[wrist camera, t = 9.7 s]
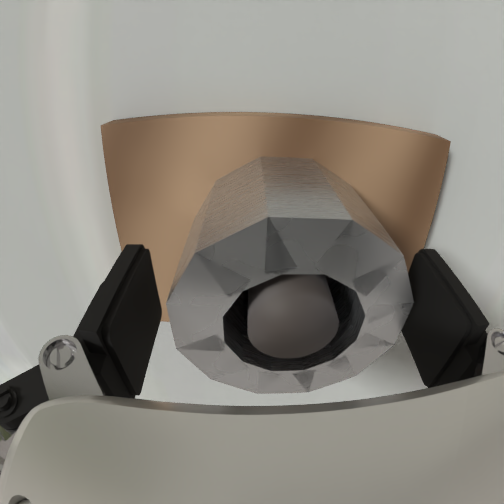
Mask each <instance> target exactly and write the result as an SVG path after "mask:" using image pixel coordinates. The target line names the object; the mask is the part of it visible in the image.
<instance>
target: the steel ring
mask: <svg viewBox="0 0 504 504" xmlns="http://www.w3.org/2000/svg"><path fill="white" fill-rule="evenodd" d="M281 274H325V276H326V280H327V283H328V286H329V289H330V292H331V296H332V299H333V302H334V305H335V309H336V312H337V315H338V320H339V326H338V330H337V333H336V335H335V336H334V338H333V339H332V340H331V342H330V343H329V344H327V345H326V346H325V347H324V348H322V349H320V350H319V351H317V352H315V353H312V354H310V355H307V356H303V357H298V358H277V357H273V356H269V355H267V354H264V353H262V352H260V351H259V350H258V349H256V348H255V347H254V346H253V345H252V343H251V342H250V340H249V337H248V331H247V329H248V289H249V288H251V287H254V286H256V285H258V284H261V283H263V282H265V281H268V280H270V279H272V278H274V277H277V276H279V275H281ZM413 304H414V301H413V295H412V290H411V286H410V281H409V276H408V272H407V267H406V263H405V259H404V255H403V254H402V253H401V251H400V250H399V248H398V247H397V245H396V244H395V243H394V241H393V240H392V238H391V237H390V236H389V234H388V233H387V232H386V230H385V229H384V227H383V226H382V225H381V223H380V222H379V221H378V219H377V218H376V217H375V215H374V214H373V213H372V212H371V210H370V209H369V208H368V206H367V205H366V204H365V203H364V201H363V200H362V199H361V197H360V196H359V195H358V194H357V192H356V191H355V190H354V189H353V188H352V186H351V185H350V184H348V183H347V182H346V181H344V180H343V179H341V178H340V177H338V176H337V175H336V174H334V173H333V172H331V171H330V170H328V169H327V168H325V167H324V166H322V165H321V164H319V163H318V162H316V161H315V160H313V159H310V158H292V157H266V156H261V157H259V158H257V159H255V160H253V161H251V162H249V163H247V164H245V165H243V166H241V167H240V168H238V169H236V170H234V171H232V172H230V173H228V174H227V175H225V176H223V177H221V178H219V179H217V180H216V182H215V183H214V185H213V187H212V189H211V190H210V192H209V194H208V195H207V197H206V199H205V201H204V202H203V204H202V206H201V208H200V210H199V211H198V213H197V215H196V217H195V218H194V221H193V224H192V227H191V229H190V232H189V235H188V238H187V241H186V244H185V247H184V250H183V253H182V255H181V258H180V261H179V264H178V267H177V271H176V274H175V277H174V280H173V283H172V286H171V289H170V292H169V296H168V299H167V302H166V306H167V311H168V315H169V320H170V324H171V328H172V333H173V337H174V341H175V345H176V349H177V350H178V351H180V352H181V353H182V354H183V355H184V356H185V357H186V358H187V359H188V360H189V361H191V362H192V363H193V364H194V365H195V366H196V367H197V368H199V369H200V370H201V371H202V372H203V373H204V374H205V375H207V376H208V377H209V378H210V379H212V380H215V381H218V382H221V383H224V384H228V385H231V386H234V387H237V388H240V389H244V390H247V391H251V392H254V393H257V394H258V393H301V392H310V391H313V390H316V389H319V388H322V387H325V386H328V385H331V384H334V383H337V382H340V381H343V380H345V379H348V378H351V377H353V376H356V375H357V374H359V373H360V372H361V371H363V370H364V369H365V368H366V367H368V366H369V365H370V364H371V363H373V362H374V361H375V360H376V359H378V358H379V357H380V356H381V355H383V354H384V353H385V352H386V351H387V350H389V349H390V348H391V347H392V346H393V345H394V344H395V342H396V340H397V338H398V336H399V334H400V332H401V330H402V328H403V326H404V324H405V321H406V319H407V317H408V315H409V313H410V310H411V308H412V306H413Z"/></svg>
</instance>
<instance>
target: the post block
mask: <svg viewBox="0 0 504 504" xmlns="http://www.w3.org/2000/svg"><path fill="white" fill-rule="evenodd" d="M101 133H102V142H103V150H104V158H105V165H106V172H107V179H108V185H109V191H110V197H111V202H112V208H113V213H114V218H115V223H116V228H117V232H118V237H119V242H120V246H121V250H122V251H123V249H124V247H125V246H126V245H127V244H143V245H144V247H145V249H149V251H150V254H151V260H152V265H153V270H154V275H155V280H156V285H157V289H158V294H159V298H160V303H161V307H162V317H161V321H166V322H170V320H169V315H168V311H167V306H166V302H167V299H168V296H169V292H170V289H171V286H172V283H173V280H174V277H175V274H176V271H177V267H178V264H179V261H180V258H181V255H182V253H183V250H184V247H185V244H186V241H187V238H188V235H189V232H190V229H191V227H192V224H193V221H194V218H195V217H196V215H197V213H198V211H199V210H200V208H201V206H202V204H203V202H204V201H205V199H206V197H207V195H208V194H209V192H210V190H211V189H212V187H213V185H214V183H215V182H216V180H217V179H219V178H221V177H223V176H225V175H227V174H228V173H230V172H232V171H234V170H236V169H238V168H240V167H241V166H243V165H245V164H247V163H249V162H251V161H253V160H255V159H257V158H259V157H261V156H266V157H292V158H310V159H313V160H315V161H316V162H318V163H319V164H321V165H322V166H324V167H325V168H327V169H328V170H330V171H331V172H333V173H334V174H336V175H337V176H338V177H340V178H341V179H343V180H344V181H346V182H347V183H348V184H350V185H351V186H352V188H353V189H354V190H355V191H356V192H357V194H358V195H359V196H360V197H361V199H362V200H363V201H364V203H365V204H366V205H367V206H368V208H369V209H370V210H371V212H372V213H373V214H374V215H375V217H376V218H377V219H378V221H379V222H380V223H381V225H382V226H383V227H384V229H385V230H386V232H387V233H388V234H389V236H390V237H391V238H392V240H393V241H394V243H395V244H396V245H397V247H398V248H399V250H400V251H401V253H402V254H403V255H404V259H405V263H406V267H407V272H409V269H410V266H411V264H412V261H413V258H414V255H415V254H416V253H418V251H419V250H420V249H423V248H424V245H425V242H426V239H427V236H428V233H429V229H430V226H431V223H432V219H433V216H434V212H435V209H436V205H437V201H438V197H439V193H440V189H441V185H442V181H443V177H444V172H445V168H446V163H447V158H448V153H449V148H450V142H451V141H448V140H446V139H444V138H442V137H440V136H438V135H435V134H430V133H426V132H421V131H417V130H412V129H407V128H402V127H396V126H391V125H385V124H379V123H372V122H366V121H359V120H351V119H343V118H334V117H325V116H314V115H301V114H285V113H261V112H209V113H185V114H170V115H157V116H146V117H137V118H128V119H120V120H113V121H111V122H108V123H106V124H103V125H101ZM338 326H339V320H338V315H337V312H336V309H335V305H334V302H333V299H332V296H331V292H330V289H329V286H328V283H327V280H326V276H325V274H281V275H279V276H277V277H274V278H272V279H270V280H268V281H265V282H263V283H261V284H258V285H256V286H254V287H251V288H249V289H248V329H247V331H248V337H249V340H250V342H251V343H252V345H253V346H254V347H255V348H256V349H258V350H259V351H260V352H262V353H264V354H267V355H269V356H273V357H277V358H298V357H303V356H307V355H310V354H312V353H315V352H317V351H319V350H320V349H322V348H324V347H325V346H326V345H327V344H329V343H330V342H331V340H332V339H333V338H334V336H335V335H336V333H337V330H338Z"/></svg>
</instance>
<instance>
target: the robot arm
mask: <svg viewBox="0 0 504 504" xmlns="http://www.w3.org/2000/svg"><path fill="white" fill-rule="evenodd" d="M408 276H409V281H410V286H411V290H412V295H413V301H414V304H413V306H412V308H411V310H410V313H409V315H408V317H407V319H406V321H405V324H404V326H403V328H402V330H401V331H402V333H403V335H404V337H405V340H406V342H407V344H408V347H409V349H410V351H411V354H412V356H413V358H414V361H415V363H416V366H417V368H418V371H419V373H420V376H421V378H422V381H423V383H424V385H425V386H428V388H427V389H422V390H417V391H412V392H406V393H401V394H395V395H389V396H382V397H376V398H369V399H361V400H353V401H344V402H333V403H322V404H307V405H287V406H220V405H200V404H185V403H172V402H161V401H151V400H142V399H135V395H140V393H141V390H142V386H143V382H144V378H145V374H146V370H147V367H148V363H149V359H150V356H151V352H152V348H153V345H154V341H155V338H156V334H157V331H158V328H159V324H160V321H161V317H162V307H161V303H160V298H159V294H158V289H157V285H156V280H155V275H154V270H153V265H152V260H151V254H150V251H149V249H145V247H144V245H143V244H127V245H126V246H125V247H124V249H123V251H122V252H121V254H120V256H119V257H118V259H117V261H116V262H115V264H114V266H113V267H112V269H111V271H110V272H109V274H108V276H107V278H106V279H105V281H104V282H103V283H102V284H101V285H100V287H99V289H98V291H97V293H96V294H95V296H94V298H93V300H92V302H91V303H90V305H89V307H88V309H87V311H86V313H85V315H84V317H83V318H82V320H81V322H80V324H79V326H78V328H77V330H76V332H75V334H74V336H69V335H60V336H57V337H54V338H53V339H51V340H49V341H48V342H47V343H46V344H45V345H44V346H43V347H42V349H41V351H40V354H39V365H37V366H35V367H33V368H32V369H30V370H28V371H26V372H24V373H22V374H20V375H18V376H16V377H15V378H13V379H11V380H9V381H7V382H5V383H3V384H1V385H0V504H504V330H502V329H499V328H494V329H491V330H490V331H489V332H488V334H487V333H486V331H485V330H486V328H487V327H488V325H489V322H488V321H487V319H486V318H485V316H484V315H483V313H482V312H481V310H480V309H479V307H478V306H477V304H476V303H475V302H474V300H473V299H472V297H471V296H470V294H469V293H468V292H467V290H466V289H465V288H464V286H463V285H462V283H461V282H460V281H459V279H458V278H457V277H456V275H455V274H454V273H453V272H452V270H451V269H450V268H449V266H448V265H447V264H446V263H445V261H444V260H443V259H442V258H441V256H440V255H439V254H438V253H437V251H436V250H434V249H420V250H419V251H418V253H416V254H415V255H414V258H413V261H412V264H411V266H410V269H409V272H408Z"/></svg>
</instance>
